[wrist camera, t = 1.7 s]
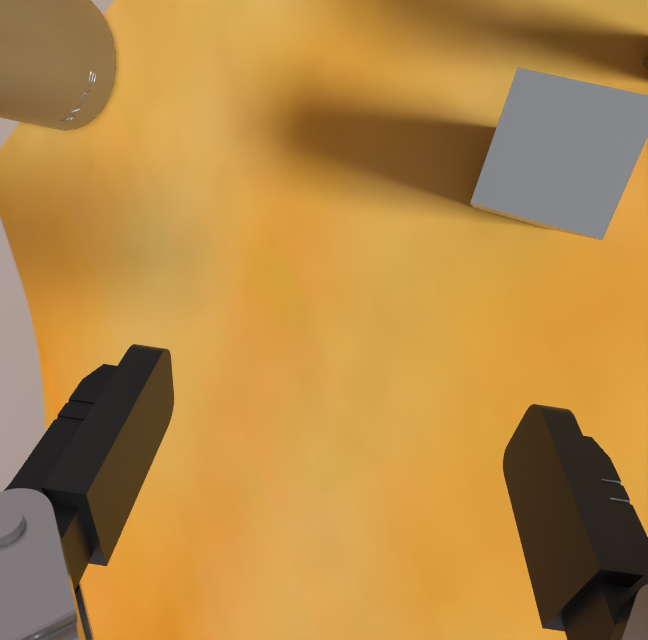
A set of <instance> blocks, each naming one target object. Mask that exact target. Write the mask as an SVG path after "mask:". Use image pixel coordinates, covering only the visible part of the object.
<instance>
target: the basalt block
mask: <svg viewBox="0 0 648 640" xmlns="http://www.w3.org/2000/svg"><path fill="white" fill-rule="evenodd" d="M647 137H648V96H647V95H642V94H638V93H633V92H628V91H624V90H619V89H614V88H610V87H605V86H600V85H596V84H591V83H586V82H582V81H577V80H572V79H567V78H563V77H558V76H553V75H549V74H544V73H539V72H535V71H530V70H525V69H521V68H517V71H516V74H515V77H514V80H513V82H512V85H511V88H510V91H509V94H508V97H507V100H506V102H505V105H504V108H503V111H502V114H501V117H500V119H499V122H498V125H497V128H496V131H495V134H494V137H493V139H492V142H491V145H490V148H489V151H488V154H487V156H486V159H485V162H484V165H483V168H482V171H481V174H480V176H479V179H478V182H477V185H476V188H475V191H474V194H473V196H472V199H471V202H470V204H471V205H472V206H473V208H476V209H480V210H483V211H487V212H490V213H494V214H497V215H501V216H504V217H508V218H511V219H515V220H519V221H522V222H526V223H529V224H533V225H536V226H540V227H543V228H547V229H550V230H555V231H560V232H565V233H570V234H575V235H579V236H584V237H589V238H594V239H599V240H602V239H603V237H604V235H605V233H606V230H607V228H608V226H609V223H610V221H611V219H612V217H613V214H614V212H615V210H616V208H617V205H618V203H619V201H620V198H621V196H622V194H623V192H624V189H625V187H626V185H627V182H628V180H629V178H630V176H631V173H632V171H633V169H634V166H635V164H636V162H637V160H638V157H639V155H640V153H641V150H642V148H643V146H644V144H645V141H646V139H647Z"/></svg>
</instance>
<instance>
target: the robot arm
mask: <svg viewBox="0 0 648 640" xmlns="http://www.w3.org/2000/svg"><path fill="white" fill-rule="evenodd" d="M115 70H116V58H115V48H114V43H113V38H112V35H111V32H110V29H109V27H108V24H107V22H106V20H105V19H104V17H103V15H102V14H101V12H100V10H99V9H98V8H97V7H96V6H95V5H94V4H93V2H92V1H90V0H0V117H1V118H6V119H10V120H15V121H20V122H25V123H30V124H35V125H40V126H45V127H50V128H55V129H61V130H72V129H77V128H80V127H82V126H85V125H87V124H88V123H89V122H91V121H92V120H93V119H95V118H96V116H97V115H98V114H99V113H100V112H101V111H102V109H103V108H104V106H105V104H106V102H107V100H108V98H109V97H110V93H111V90H112V87H113V84H114V78H115ZM173 406H174V390H173V378H172V365H171V355H170V351H169V350H168V349H162V348H156V347H149V346H143V345H136V344H133V345H132V346H130V347H129V349H128V350H127V352H126V353H125V355H124V357H123V358H122V360H121V361H120V363H119V365H118V366H113V365H107V364H103V365H102V366H100V367H99V368H98V369H96V370H95V371H93V372H92V373H91V374H89V375H88V376H86V377H85V378H84V379H82V381H81V382H80V384H79V385H78V386H77V388H76V389H75V391H74V392H73V394H72V395H71V397H70V398H69V402H68V403H66V404H65V405H64V407H63V408H62V410H61V411H60V412H59V414H58V417H57V419H56V420H54V421H53V423H52V424H51V425H50V427H49V428H48V430H47V431H46V433H45V434H44V436H43V437H42V439H41V440H40V441H39V443H38V444H37V446H36V447H35V449H34V450H33V451H32V453H31V455H30V456H29V457H28V459H27V460H26V462H25V463H24V465H23V466H22V467H21V469H20V470H19V472H18V473H17V475H16V476H15V477H14V479H13V480H12V482H11V483H10V484H9V486H8V487H7V488H6V489H5V490H4V491H2V492H0V640H94V636H93V631H92V627H91V623H90V619H89V615H88V611H87V607H86V602H85V598H84V594H83V590H82V586H81V583H80V580H81V578H82V576H83V573H84V571H85V569H86V567H87V565H88V563H90V564H97V565H103V566H107V564H108V562H109V560H110V557H111V555H112V553H113V551H114V548H115V546H116V544H117V541H118V539H119V537H120V535H121V532H122V530H123V528H124V526H125V523H126V521H127V519H128V516H129V514H130V512H131V510H132V507H133V505H134V503H135V501H136V498H137V496H138V494H139V491H140V489H141V487H142V485H143V482H144V480H145V478H146V476H147V473H148V471H149V469H150V466H151V464H152V462H153V460H154V457H155V455H156V453H157V450H158V448H159V446H160V444H161V441H162V439H163V437H164V435H165V432H166V430H167V428H168V425H169V423H170V420H171V416H172V412H173ZM503 471H504V477H505V481H506V485H507V489H508V493H509V497H510V500H511V504H512V508H513V512H514V516H515V520H516V524H517V528H518V532H519V536H520V540H521V544H522V548H523V552H524V556H525V560H526V564H527V568H528V572H529V576H530V580H531V584H532V588H533V592H534V596H535V600H536V604H537V608H538V612H539V616H540V620H541V624H542V628H545V629H552V630H559V631H565V633H566V636H567V640H648V537H647V535H646V533H645V531H644V529H643V526H642V524H641V522H640V520H639V518H638V516H637V514H636V512H635V510H634V507H633V505H630V503H629V501H630V499H629V497H628V495H627V493H626V491H625V488H624V486H622V485H621V484H620V482H621V480H620V478H619V476H618V474H617V471H616V469H615V467H614V465H613V463H612V461H611V459H610V457H609V456H608V455H607V454H606V453H605V452H604V451H603V450H602V448H601V447H600V446H599V445H598V444H597V443H596V442H595V440H594V439H593V438H592V437H588V436H583V435H582V432H581V430H580V428H579V426H578V423H577V421H576V419H575V417H574V415H573V413H572V412H571V411H570V410H568V409H562V408H556V407H549V406H543V405H536V404H533V405H531V406H530V407H529V408H528V409H527V411H526V413H525V414H524V416H523V418H522V420H521V422H520V423H519V425H518V427H517V429H516V431H515V432H514V434H513V436H512V438H511V439H510V441H509V443H508V445H507V447H506V449H505V453H504V458H503Z"/></svg>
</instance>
